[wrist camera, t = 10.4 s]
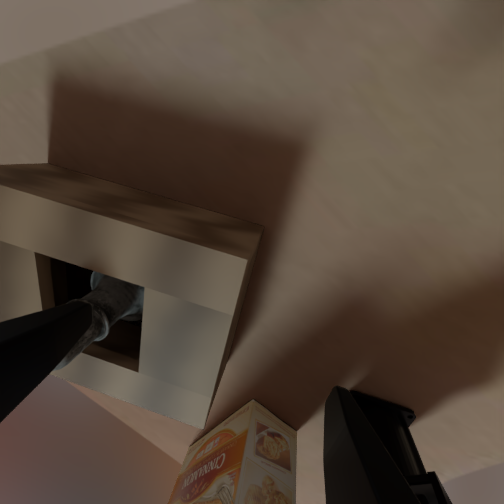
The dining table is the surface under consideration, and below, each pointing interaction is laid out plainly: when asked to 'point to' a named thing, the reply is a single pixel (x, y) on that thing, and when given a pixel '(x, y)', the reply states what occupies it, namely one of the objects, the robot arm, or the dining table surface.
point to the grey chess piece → (107, 309)
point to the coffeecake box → (241, 462)
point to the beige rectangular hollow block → (134, 271)
